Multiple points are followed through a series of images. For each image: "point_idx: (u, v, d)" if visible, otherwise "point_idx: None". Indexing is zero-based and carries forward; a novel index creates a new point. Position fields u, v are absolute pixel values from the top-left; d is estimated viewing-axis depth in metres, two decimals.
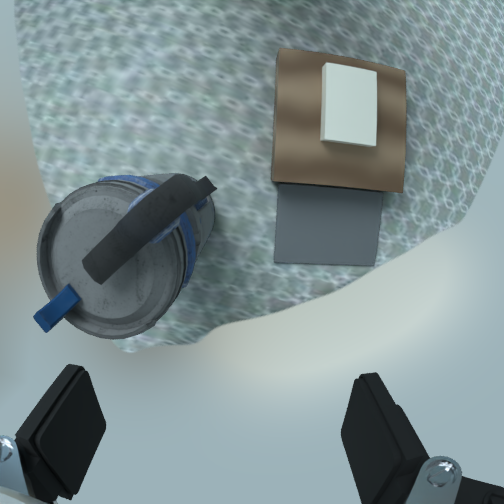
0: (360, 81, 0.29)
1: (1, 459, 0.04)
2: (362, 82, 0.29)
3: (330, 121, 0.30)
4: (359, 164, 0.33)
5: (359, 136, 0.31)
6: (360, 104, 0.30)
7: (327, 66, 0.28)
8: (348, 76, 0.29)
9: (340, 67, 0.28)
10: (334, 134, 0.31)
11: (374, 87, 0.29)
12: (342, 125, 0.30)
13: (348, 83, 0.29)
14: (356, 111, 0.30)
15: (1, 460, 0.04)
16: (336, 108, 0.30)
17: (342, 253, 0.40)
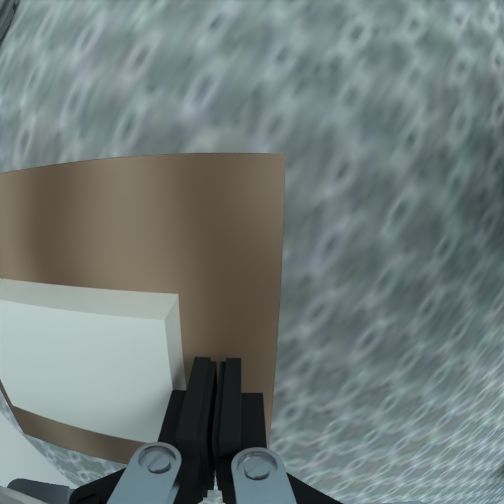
0: (133, 409, 0.10)
1: (152, 468, 0.06)
2: (132, 413, 0.10)
3: (2, 312, 0.09)
4: None
5: (8, 376, 0.10)
6: (70, 396, 0.10)
7: (148, 322, 0.09)
8: (135, 381, 0.09)
9: (156, 363, 0.09)
10: None
11: (132, 435, 0.10)
12: (8, 342, 0.09)
13: (112, 378, 0.09)
14: (50, 382, 0.10)
15: (151, 469, 0.06)
16: (34, 333, 0.09)
17: None
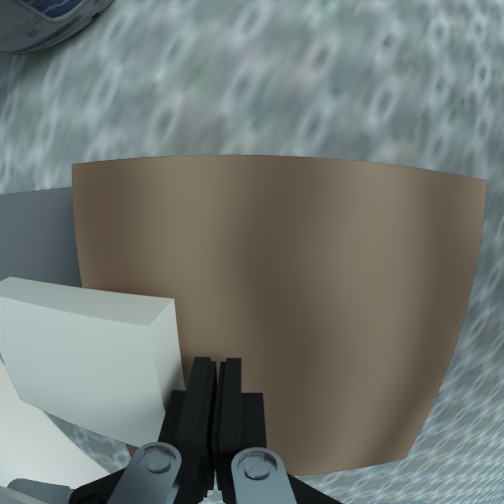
0: (125, 413, 0.09)
1: (152, 468, 0.06)
2: (125, 417, 0.09)
3: (6, 309, 0.09)
4: None
5: (14, 371, 0.10)
6: (68, 394, 0.10)
7: (133, 328, 0.08)
8: (125, 386, 0.09)
9: (144, 369, 0.09)
10: None
11: (127, 439, 0.10)
12: (12, 338, 0.10)
13: (104, 381, 0.09)
14: (50, 380, 0.10)
15: (151, 469, 0.06)
16: (33, 331, 0.09)
17: None
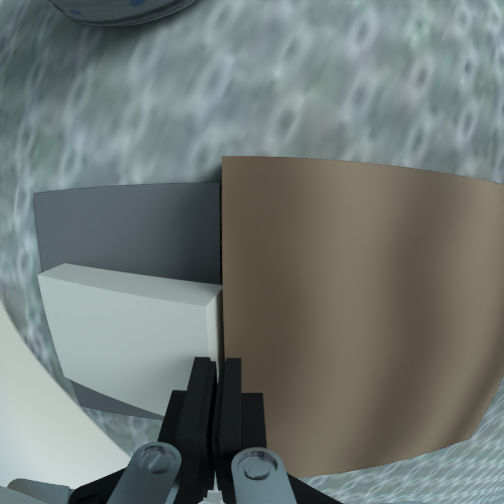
0: (173, 387, 0.11)
1: (152, 468, 0.06)
2: None
3: (64, 292, 0.12)
4: (290, 405, 0.12)
5: (64, 350, 0.13)
6: (118, 371, 0.12)
7: (192, 308, 0.10)
8: (176, 361, 0.11)
9: (196, 345, 0.11)
10: (48, 297, 0.12)
11: None
12: (67, 319, 0.12)
13: (157, 357, 0.11)
14: (101, 357, 0.12)
15: (151, 469, 0.06)
16: (91, 311, 0.12)
17: None
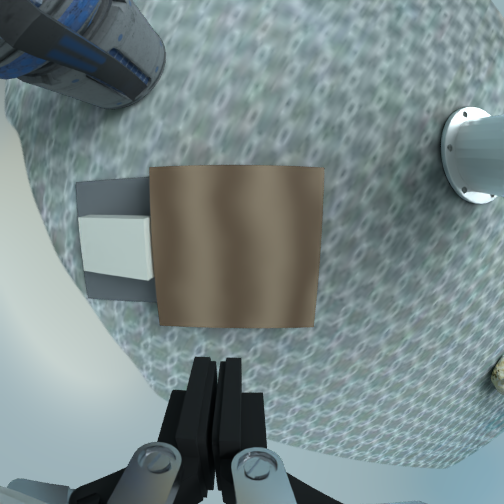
0: (132, 259, 0.29)
1: (152, 468, 0.06)
2: (132, 261, 0.29)
3: (91, 223, 0.29)
4: (180, 270, 0.29)
5: (86, 253, 0.30)
6: (111, 256, 0.29)
7: (139, 220, 0.28)
8: (134, 245, 0.28)
9: (140, 236, 0.28)
10: (82, 227, 0.30)
11: (131, 275, 0.29)
12: (90, 235, 0.30)
13: (126, 244, 0.29)
14: (104, 251, 0.30)
15: (151, 469, 0.06)
16: (102, 229, 0.29)
17: None
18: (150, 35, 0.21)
